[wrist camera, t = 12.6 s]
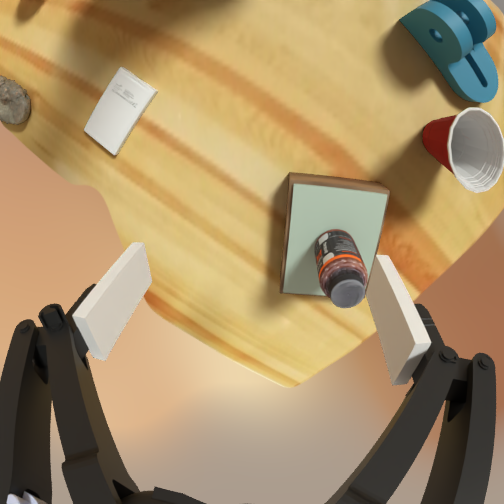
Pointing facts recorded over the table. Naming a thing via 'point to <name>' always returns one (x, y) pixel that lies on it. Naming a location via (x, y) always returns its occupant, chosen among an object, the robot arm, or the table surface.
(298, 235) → the walnut stand
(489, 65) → the camera mount
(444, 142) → the plastic cup
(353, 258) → the supplement bottle
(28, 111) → the elongated rock
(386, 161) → the table surface
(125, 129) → the external hard drive
